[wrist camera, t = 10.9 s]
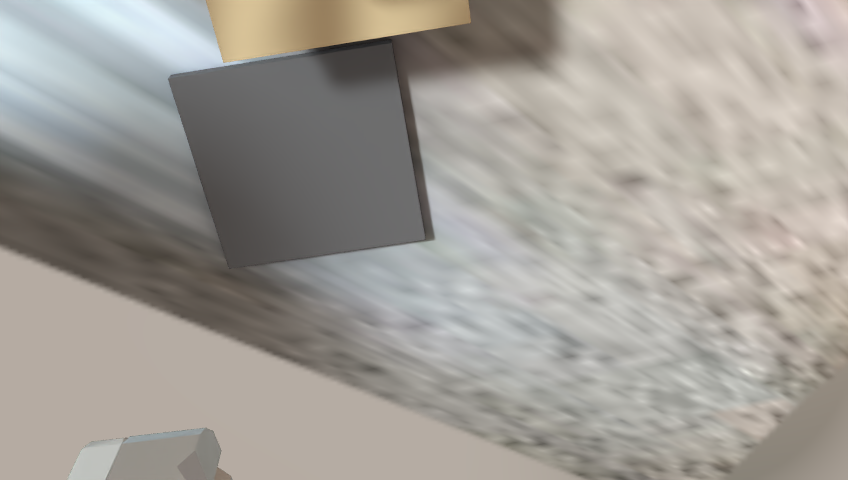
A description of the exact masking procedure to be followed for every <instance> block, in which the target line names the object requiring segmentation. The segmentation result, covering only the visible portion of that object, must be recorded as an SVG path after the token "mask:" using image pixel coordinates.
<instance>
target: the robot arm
mask: <svg viewBox="0 0 848 480" xmlns="http://www.w3.org/2000/svg"><path fill="white" fill-rule="evenodd" d="M220 454H221V449H220V446H219V444H218V442H217V439H216V437H215V434H214V432H213V431H212V430H209V429H207V428H200V429H191V430H183V431H174V432H165V433H157V434H148V435H139V436H130V437H129V438H119V439H110V440H102V441H93V442H90V443H89V444H88V445H87V446H85V447H84V448H82V450H81V452H80V453H79V455H78V458H77V460H76V462H75V464H74V466H73V468H72V471H71V472H70V474H69V477H68V479H67V480H232V478H231V476H230V475H228V474H227V473H225V472H224V471H222V470H221V469H219V468H218V467H217V466H218V462H219V458H220Z"/></svg>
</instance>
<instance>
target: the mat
mask: <svg viewBox="0 0 848 480" xmlns="http://www.w3.org/2000/svg"><path fill="white" fill-rule="evenodd" d="M168 80H169V83H170V87H171V90H172V93H173V96H174V99H175V102H176V105H177V108H178V111H179V114H180V118H181V121H182V124H183V127H184V130H185V133H186V136H187V139H188V142H189V146H190V149H191V152H192V155H193V158H194V161H195V164H196V167H197V170H198V174H199V177H200V180H201V183H202V186H203V189H204V192H205V195H206V198H207V201H208V205H209V208H210V211H211V214H212V217H213V220H214V223H215V226H216V229H217V233H218V236H219V239H220V242H221V245H222V248H223V251H224V254H225V257H226V261H227V264H228V267H229V269H231V268H238V267H245V266H252V265H258V264H265V263H272V262H278V261H285V260H292V259H299V258H305V257H312V256H319V255H326V254H332V253H339V252H346V251H352V250H359V249H366V248H373V247H379V246H386V245H393V244H399V243H406V242H413V241H420V240H425V231H424V225H423V220H422V214H421V208H420V202H419V196H418V191H417V185H416V179H415V173H414V168H413V162H412V156H411V150H410V144H409V139H408V133H407V127H406V121H405V116H404V110H403V104H402V98H401V93H400V87H399V81H398V75H397V69H396V64H395V58H394V52H393V46H392V41H391V40H386V41H380V42H374V43H367V44H361V45H355V46H349V47H342V48H336V49H330V50H324V51H317V52H311V53H305V54H299V55H292V56H286V57H280V58H274V59H268V60H261V61H255V62H249V63H243V64H236V65H230V66H224V67H218V68H211V69H205V70H199V71H193V72H186V73H180V74H174V75H171V76H170V77H169V78H168Z"/></svg>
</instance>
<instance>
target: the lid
mask: <svg viewBox="0 0 848 480" xmlns="http://www.w3.org/2000/svg"><path fill="white" fill-rule="evenodd" d="M206 3H207V6H208V10H209V13H210V17H211V20H212V24H213V27H214V31H215V34H216V38H217V41H218V45H219V49H220V52H221V56H222V59H223V63H225V62H231V61H238V60H244V59H250V58H256V57H263V56H269V55H275V54H281V53H287V52H294V51H300V50H306V49H312V48H319V47H325V46H331V45H337V44H343V43H350V42H356V41H362V40H368V39H375V38H381V37H387V36H393V35H399V34H406V33H412V32H418V31H424V30H430V29H437V28H443V27H449V26H455V25H462V24H468V23H471V18H470V10H469V2H468V0H206Z"/></svg>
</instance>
